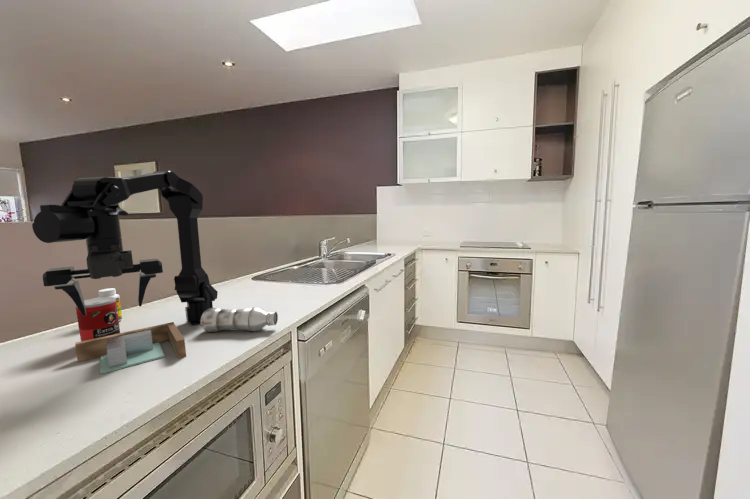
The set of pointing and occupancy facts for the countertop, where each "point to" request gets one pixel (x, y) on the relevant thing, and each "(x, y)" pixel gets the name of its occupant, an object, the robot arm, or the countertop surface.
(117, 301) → the supplement bottle
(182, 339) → the wooden corner wall
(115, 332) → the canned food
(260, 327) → the plastic bottle
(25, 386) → the countertop surface
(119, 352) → the bracket
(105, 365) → the pad
